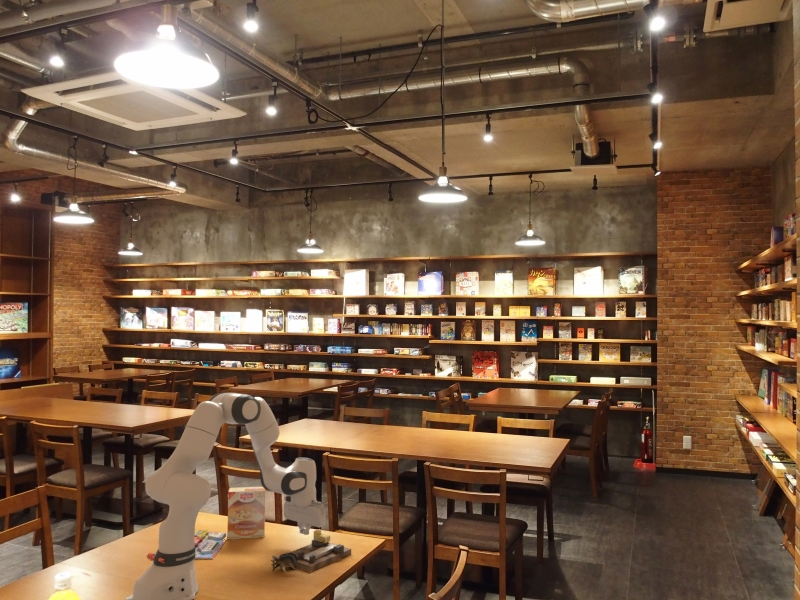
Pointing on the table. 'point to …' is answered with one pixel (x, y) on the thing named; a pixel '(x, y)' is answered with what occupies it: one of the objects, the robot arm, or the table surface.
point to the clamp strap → (320, 552)
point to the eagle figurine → (284, 561)
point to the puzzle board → (207, 544)
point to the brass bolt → (321, 536)
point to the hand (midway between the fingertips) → (304, 533)
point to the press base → (321, 561)
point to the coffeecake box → (246, 512)
